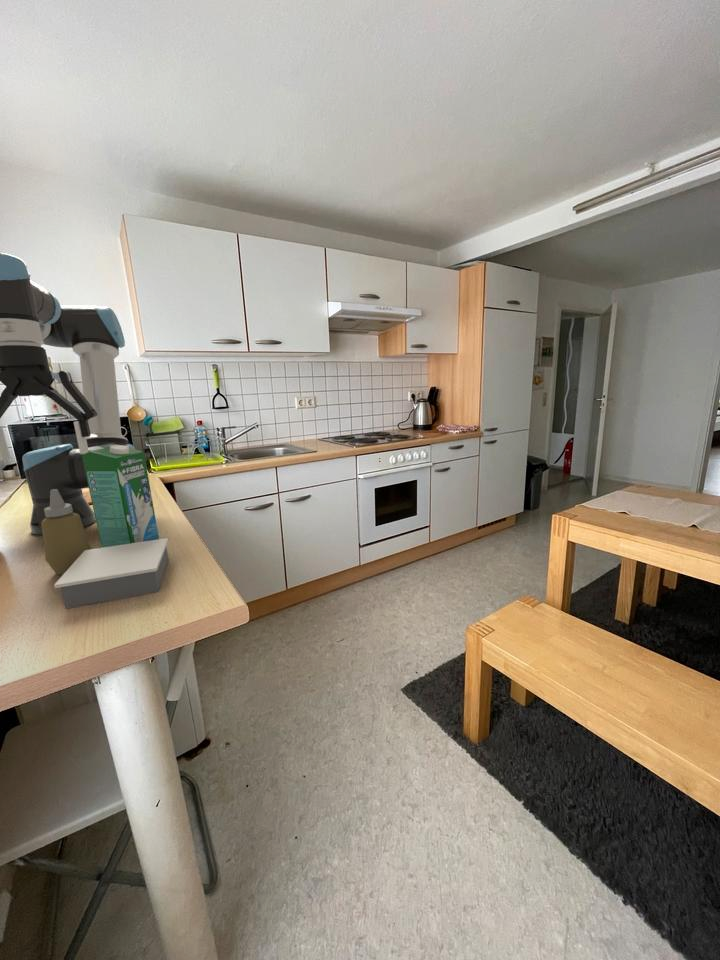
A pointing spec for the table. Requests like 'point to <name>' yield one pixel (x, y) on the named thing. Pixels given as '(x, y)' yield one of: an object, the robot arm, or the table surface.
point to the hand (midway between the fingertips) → (45, 456)
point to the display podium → (114, 573)
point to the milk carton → (120, 494)
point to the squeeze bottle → (62, 534)
